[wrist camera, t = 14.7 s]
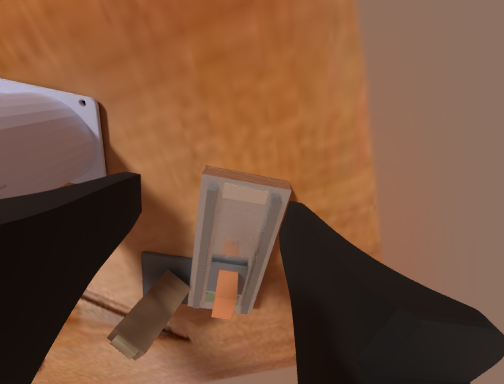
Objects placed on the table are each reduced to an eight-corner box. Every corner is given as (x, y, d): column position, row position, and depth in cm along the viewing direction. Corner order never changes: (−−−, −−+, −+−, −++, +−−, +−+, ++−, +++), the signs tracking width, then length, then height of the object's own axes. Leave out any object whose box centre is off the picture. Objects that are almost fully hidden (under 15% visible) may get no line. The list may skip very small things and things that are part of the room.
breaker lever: (207, 286, 24) (200, 318, 21) (211, 261, 22) (204, 292, 19) (241, 291, 24) (240, 323, 21) (248, 266, 23) (248, 297, 19)
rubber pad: (144, 296, 28) (143, 299, 28) (143, 251, 25) (141, 253, 24) (197, 302, 29) (196, 305, 28) (203, 260, 25) (203, 262, 25)
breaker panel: (191, 292, 28) (185, 312, 25) (206, 165, 20) (200, 177, 17) (250, 299, 29) (250, 319, 26) (288, 180, 21) (293, 194, 18)
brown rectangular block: (158, 280, 26) (104, 341, 20) (168, 269, 24) (111, 332, 18) (179, 298, 26) (132, 363, 20) (191, 288, 24) (142, 357, 18)
